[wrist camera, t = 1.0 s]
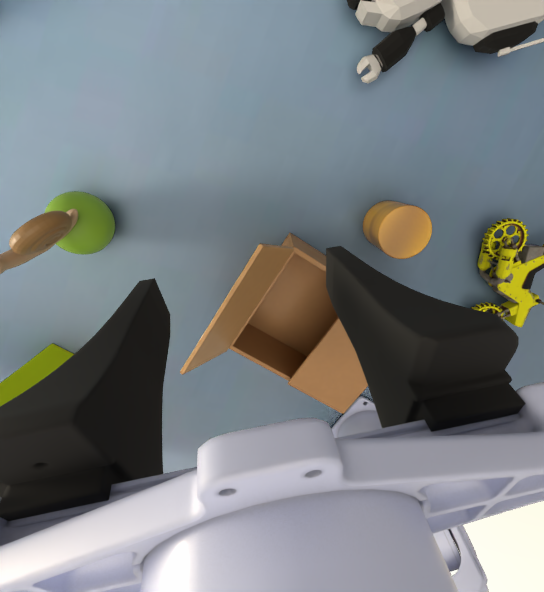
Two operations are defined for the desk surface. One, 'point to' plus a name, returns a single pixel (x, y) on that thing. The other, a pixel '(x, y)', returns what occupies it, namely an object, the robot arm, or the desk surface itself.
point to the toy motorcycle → (510, 271)
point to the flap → (239, 303)
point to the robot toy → (459, 19)
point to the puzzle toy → (32, 376)
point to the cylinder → (397, 228)
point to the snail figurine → (62, 229)
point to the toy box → (303, 332)
